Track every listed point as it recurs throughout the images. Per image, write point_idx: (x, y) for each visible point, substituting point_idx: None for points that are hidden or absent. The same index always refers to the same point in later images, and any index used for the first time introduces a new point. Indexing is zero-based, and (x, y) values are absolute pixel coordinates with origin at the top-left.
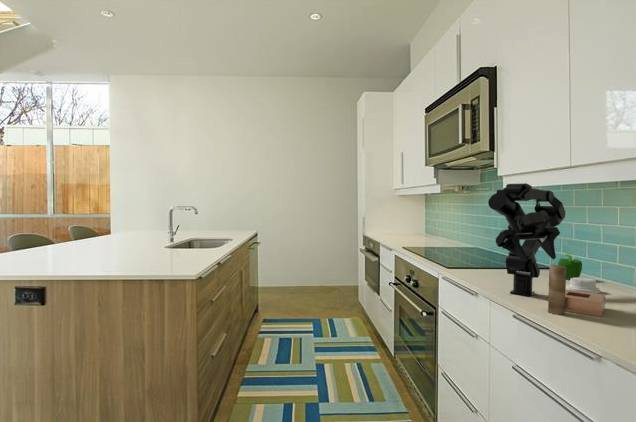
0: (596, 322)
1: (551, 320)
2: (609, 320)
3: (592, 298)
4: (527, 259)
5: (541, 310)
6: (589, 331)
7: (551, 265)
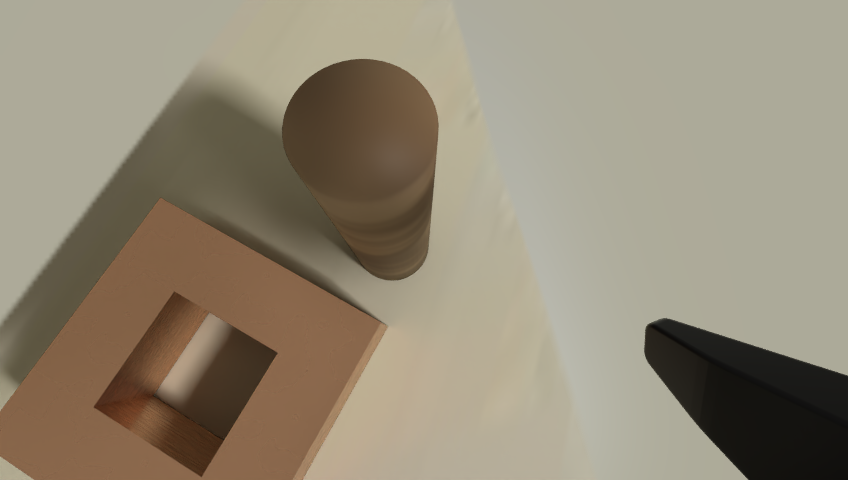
0: (281, 125)
1: (463, 113)
2: (202, 169)
3: (157, 281)
4: (652, 323)
5: (449, 279)
6: (375, 6)
7: (401, 180)
